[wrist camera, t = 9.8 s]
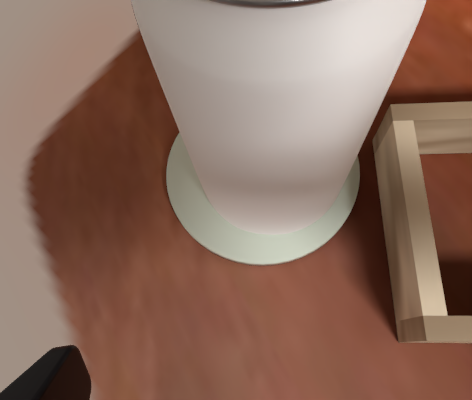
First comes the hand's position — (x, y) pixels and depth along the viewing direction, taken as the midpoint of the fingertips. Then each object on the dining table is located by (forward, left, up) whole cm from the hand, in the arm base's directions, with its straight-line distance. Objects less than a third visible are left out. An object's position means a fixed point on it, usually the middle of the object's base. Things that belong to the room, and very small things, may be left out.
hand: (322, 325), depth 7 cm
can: (+7, +1, -9) cm, 12 cm away
